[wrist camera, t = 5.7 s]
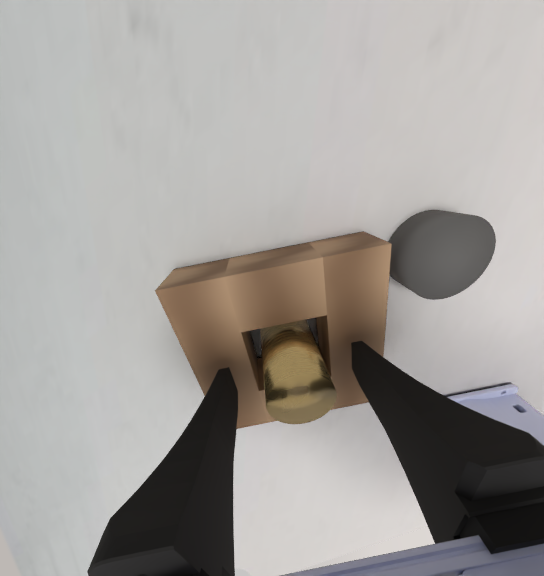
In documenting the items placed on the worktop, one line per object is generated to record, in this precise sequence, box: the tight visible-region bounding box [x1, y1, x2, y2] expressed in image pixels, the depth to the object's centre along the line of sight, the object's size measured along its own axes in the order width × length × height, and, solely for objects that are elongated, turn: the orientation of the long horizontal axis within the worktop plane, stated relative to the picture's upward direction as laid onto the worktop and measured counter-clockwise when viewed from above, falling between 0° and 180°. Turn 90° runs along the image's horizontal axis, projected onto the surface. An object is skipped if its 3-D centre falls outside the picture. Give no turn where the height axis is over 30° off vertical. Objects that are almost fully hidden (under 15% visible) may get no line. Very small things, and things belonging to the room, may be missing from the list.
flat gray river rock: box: [389, 210, 496, 300], centre depth 13 cm, size 5×5×2 cm
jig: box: [155, 232, 392, 429], centre depth 15 cm, size 12×12×3 cm
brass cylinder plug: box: [260, 319, 337, 424], centre depth 14 cm, size 4×4×6 cm
